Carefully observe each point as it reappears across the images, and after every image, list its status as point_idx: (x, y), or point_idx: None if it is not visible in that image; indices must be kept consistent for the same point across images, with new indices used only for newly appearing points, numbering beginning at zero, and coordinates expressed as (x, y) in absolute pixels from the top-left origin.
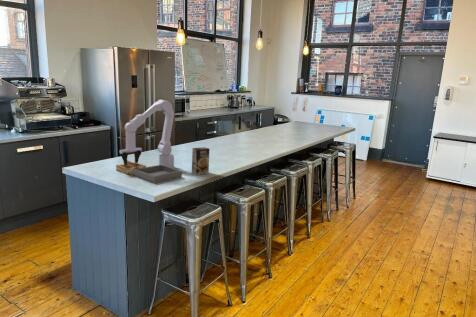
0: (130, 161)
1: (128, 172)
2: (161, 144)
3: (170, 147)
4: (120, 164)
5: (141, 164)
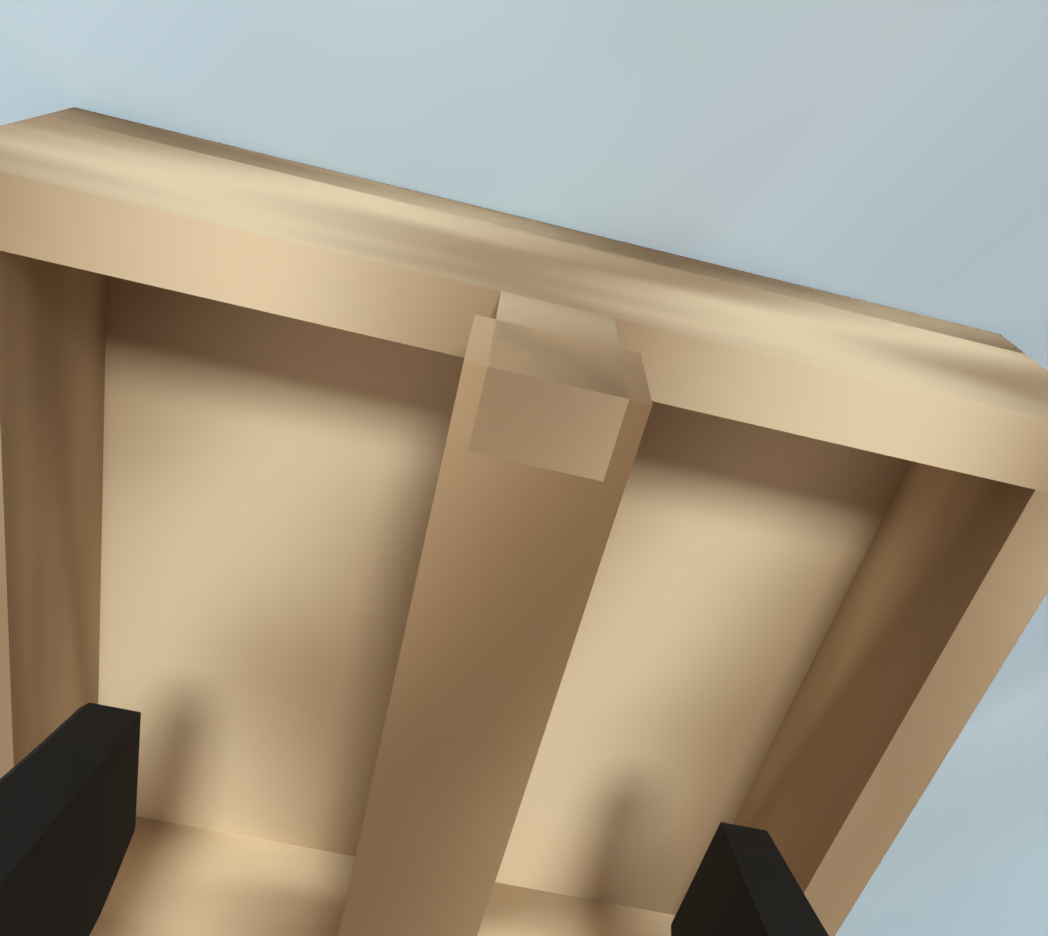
0: (512, 796)
1: None
2: None
3: None
4: (181, 262)
5: (831, 920)
